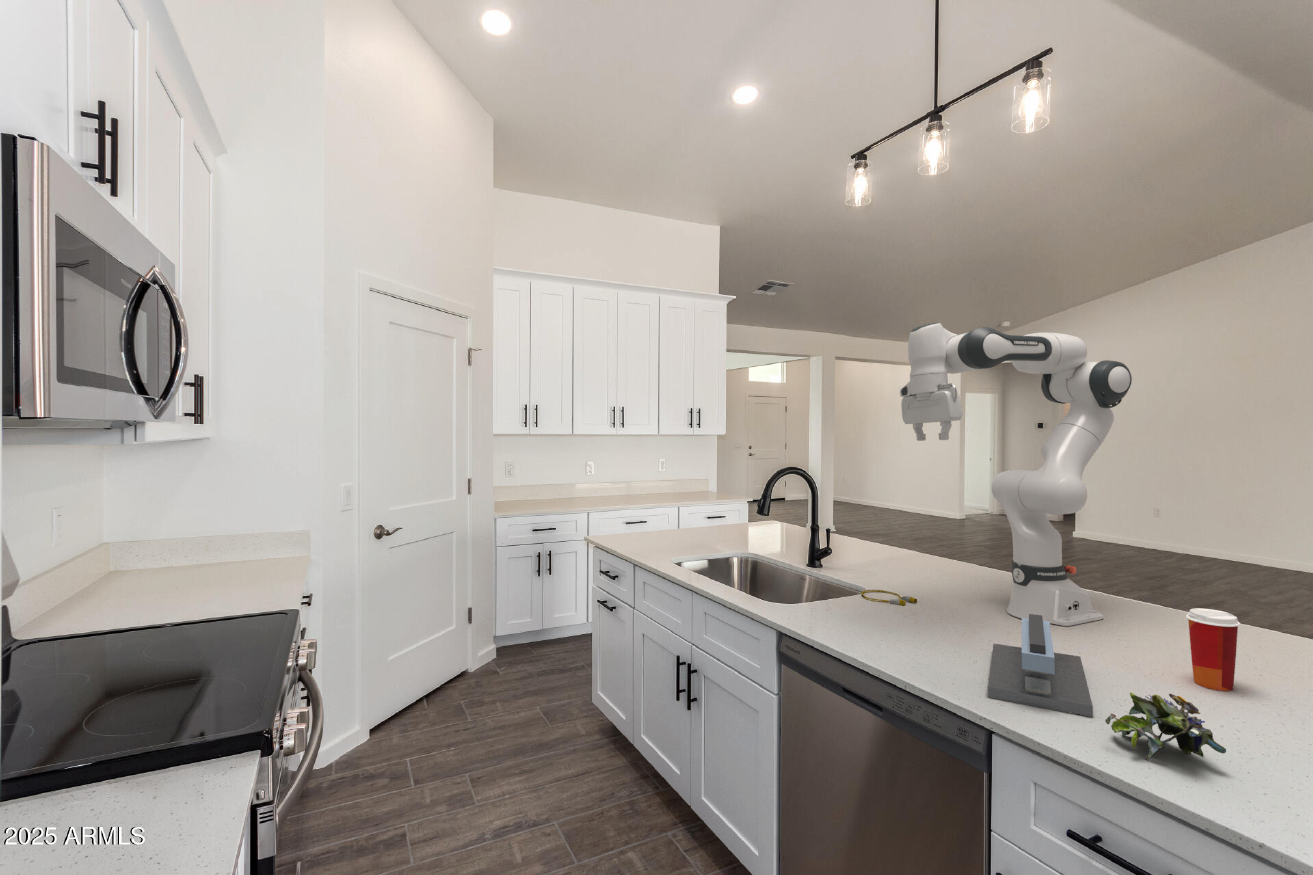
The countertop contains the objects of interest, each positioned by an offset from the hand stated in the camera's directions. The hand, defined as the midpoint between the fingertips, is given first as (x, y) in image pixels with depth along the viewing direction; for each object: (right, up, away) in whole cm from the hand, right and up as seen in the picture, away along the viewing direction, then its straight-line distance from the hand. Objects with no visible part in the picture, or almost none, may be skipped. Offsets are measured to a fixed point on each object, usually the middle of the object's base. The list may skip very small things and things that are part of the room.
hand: (932, 440), depth 151 cm
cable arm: (+5, -45, -34) cm, 56 cm away
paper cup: (+38, -48, -37) cm, 71 cm away
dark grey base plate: (+5, -48, -33) cm, 59 cm away
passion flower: (+7, -49, -60) cm, 78 cm away
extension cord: (-2, -48, +25) cm, 55 cm away
